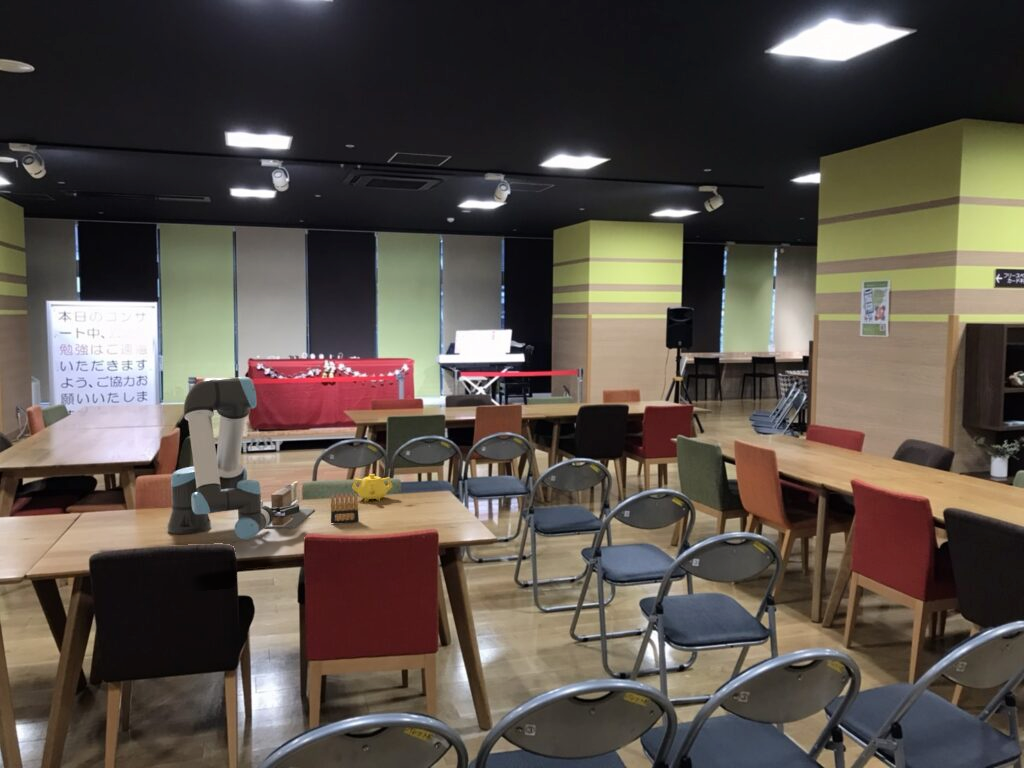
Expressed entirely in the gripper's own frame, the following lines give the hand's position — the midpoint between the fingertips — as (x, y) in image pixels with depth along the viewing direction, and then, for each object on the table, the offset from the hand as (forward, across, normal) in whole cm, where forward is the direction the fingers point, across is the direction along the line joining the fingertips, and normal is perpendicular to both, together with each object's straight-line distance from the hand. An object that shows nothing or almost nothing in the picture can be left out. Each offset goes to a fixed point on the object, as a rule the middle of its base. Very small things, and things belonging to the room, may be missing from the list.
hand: (279, 503), depth 295 cm
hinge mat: (+10, 0, -9) cm, 14 cm away
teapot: (+45, +27, -9) cm, 53 cm away
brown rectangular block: (+3, 0, -8) cm, 9 cm away
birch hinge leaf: (+16, 0, -8) cm, 18 cm away
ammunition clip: (+5, +24, -9) cm, 26 cm away
